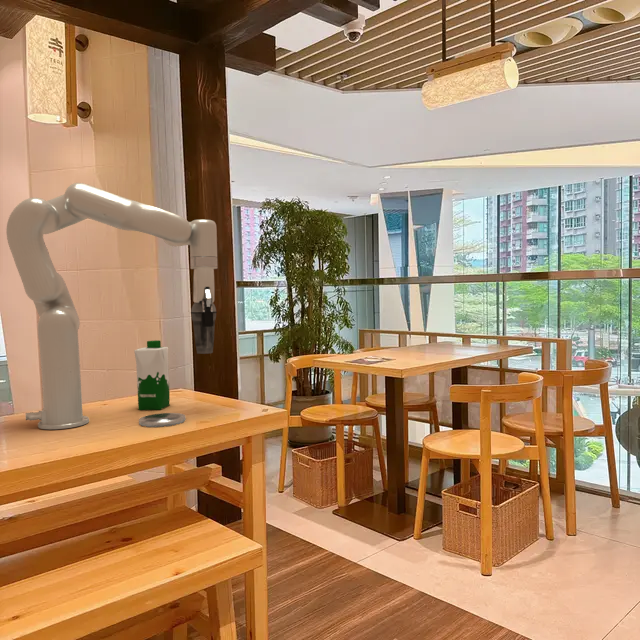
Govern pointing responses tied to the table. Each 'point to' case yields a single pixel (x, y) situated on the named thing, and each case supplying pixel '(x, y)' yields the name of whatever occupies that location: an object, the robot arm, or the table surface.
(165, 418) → the flange plate
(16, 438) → the table surface
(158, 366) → the milk carton
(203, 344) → the beverage cup
